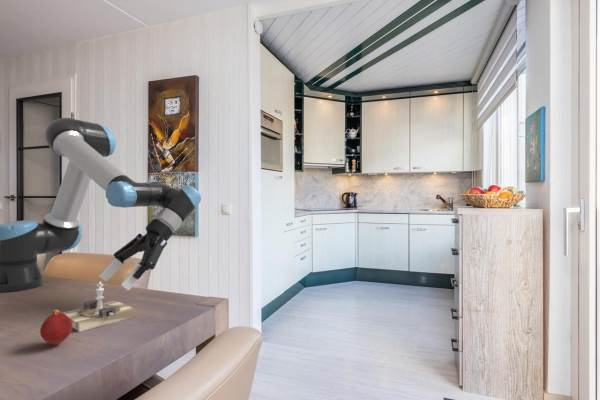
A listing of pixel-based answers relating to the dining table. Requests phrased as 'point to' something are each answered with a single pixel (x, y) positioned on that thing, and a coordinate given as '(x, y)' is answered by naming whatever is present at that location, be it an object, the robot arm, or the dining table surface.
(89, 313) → the socket plate
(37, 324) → the dining table surface
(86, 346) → the dining table surface
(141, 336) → the dining table surface
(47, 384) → the dining table surface
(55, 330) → the onion
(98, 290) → the chess piece
